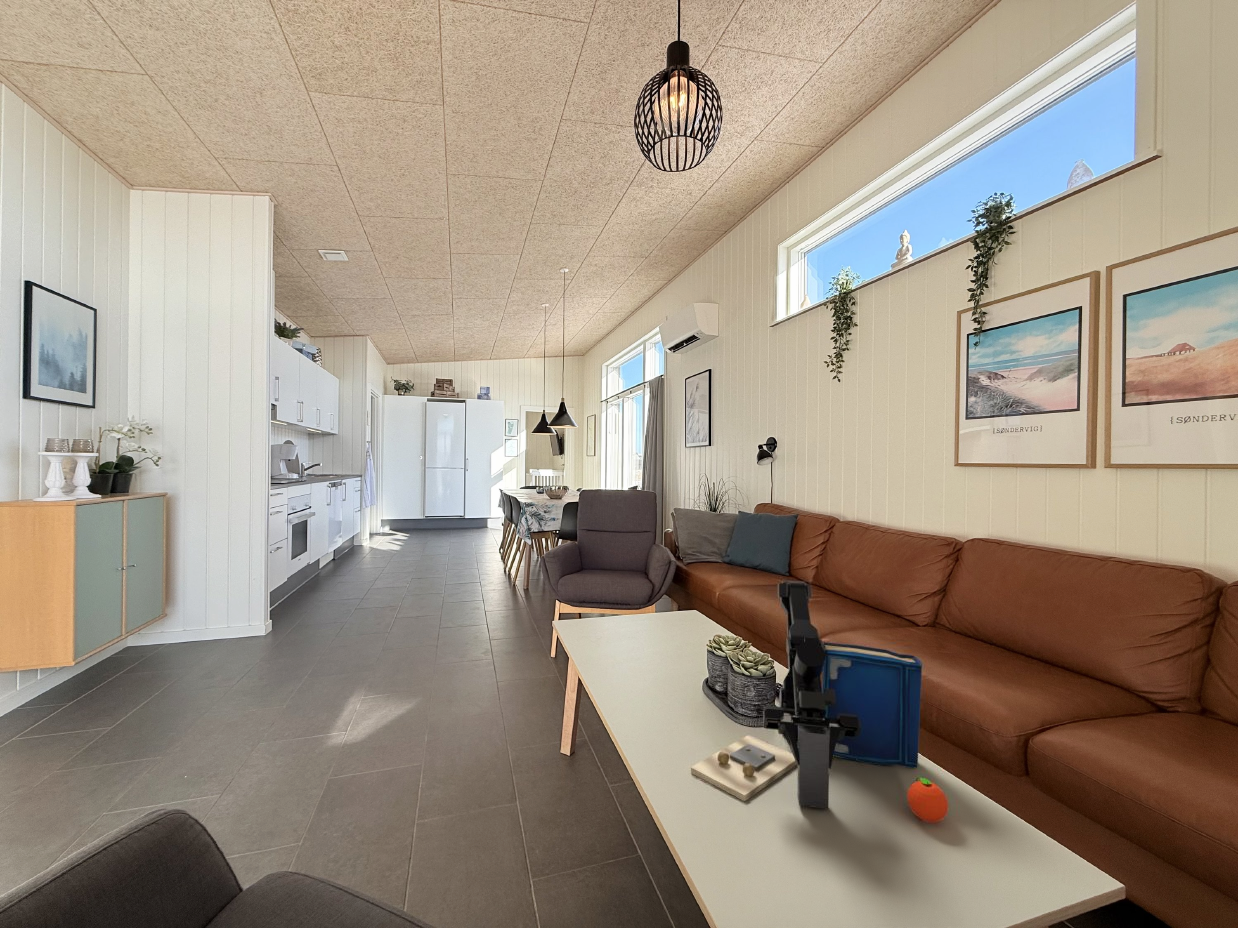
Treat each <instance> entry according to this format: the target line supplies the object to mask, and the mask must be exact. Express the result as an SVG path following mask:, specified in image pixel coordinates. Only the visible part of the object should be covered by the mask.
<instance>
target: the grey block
mask: <svg viewBox="0 0 1238 928" xmlns="http://www.w3.org/2000/svg"><path fill="white" fill-rule="evenodd" d="M797 745H798V751H799V762H800V764H799V765H797V802H798V806H803V807H804V806H805V807H810V808H811V807H812V808H816V809H817V808H818V809H819V808H820V809H827V810H828V809H829V807H830V806H829V802H830V800H829V799H830V798H829V793H830V789H829V788H830V782H829V781H830V778H829V777H830V769H829V733H828V730H827V728H825V727H815V726H805V725H798V741H797Z"/></svg>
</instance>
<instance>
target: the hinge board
mask: <svg viewBox="0 0 1238 928" xmlns="http://www.w3.org/2000/svg"><path fill="white" fill-rule="evenodd" d="M796 766H798V765H797V763H796V761H795V759H794V756H793V754H792V752H789V751H787V750H785V749H782V748H780V747H777V746H775V745H773V744H770V743H768V742H766V741H763V740H761V739H759V738H756V737H754V736H752V735H749V734H747V735H746V736H744V737H742V738H740V739H738V740H736V741H735V742H733V743H731V744H730V745H727V746H726V747H725V748H722V749H721V750H719V751H717V752H716V753H714V754H712V755H710V756H708V757H707V758H704V759H703V760H701V761H699V762H698V763H696V764H694V765H693V766H690V774H692V775H694V776H696V777H698V778H700V779H701V780H704V781H706V782H707V783H710V784H711V785H713V786H715V787H717V788H719V789H721V790H722V791H725V792H727V793H729V794H730V795H733V796H734V797H736V798H738V799H739V800H741V801H743V802H746V801H747V800H748V799H750V798H752V797H753V796H754V795H756V794H757V793H759V792H760V791H762V790H763V789H764V788H766V787H767V786H769V785H770V784H771V783H773V782H774V781H776V780H777V779H778V778H780V777H781V776H783V775H784V774H785V773H787V772H788V771H790V770H792V769H793V768H794V767H796Z"/></svg>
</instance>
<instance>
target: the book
mask: <svg viewBox="0 0 1238 928" xmlns="http://www.w3.org/2000/svg"><path fill="white" fill-rule="evenodd" d="M823 644H824V645H825V647H826V649H827V655H826V657H825V662H824V666H823V670H822V673H821V675H822V677H821V678H822V679H821V688H822V693H824V689H834V691H835V701H836V705H835V706H826V715H825V714H824V717H825V718H835V719H837V716H838V713H847V714H856V715H857V716H858V717H859V718H860V722H861V730H860V732H859V734H858V737H855V738H851V737H843V740H837V743H836V746H835V751H834V756H833V757H839V758H842V759H846V760H850V761H855V762H860V761H861V763H866V762H867V764H873V765H878V764H879V765H880V766H884V765H886V766H896V765H898V766H900V767H904V768H907V769H908V768H909V769H917V767H918V763H919V743H920V723H921V722H920V720H921V718H920V717H921V698H922V697H921V695H922V676H923V675H922V674H923V673H922V672H923V671H922V670H923V663H922V661H921V660H920V659H919V658H918V657H917V656H914V655H911V654H903V653H902V654H901V653H897V652H894V651H891V650H888V649H885V648H884V649H883V648H878V647H872V646H871V647H870V646H865V645H864V646H863V645H858V644H857V645H856V644H849V643H837V642H836V643H835V642H823ZM827 730H828V733H829V729H828V728H827ZM879 765H878V766H879Z"/></svg>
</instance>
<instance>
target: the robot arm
mask: <svg viewBox="0 0 1238 928" xmlns="http://www.w3.org/2000/svg"><path fill="white" fill-rule="evenodd" d="M812 591H813V590H812V585H811V584H808V583H806V581H801V580H799V581H797V580H782V581H781V583H778V584H777V598H779V600H780V601H779V604H780V607H781V608H782V610H783V612H784V613H785V615H786V634H787V635H786V640H785V643H786V646H785V648H786V649H785V650H786V654H787V664H788V666H787V667H788V672H787V674H786V676H785V677H784V679H783V680H782V687H780V689H779V696H778V698H779V699H778V702H779V704H778V705H779V706H771V705H766V706H765V707H764V708H763V715H762V717H763V718H762V721H763V723H762V724H763V725H762V727H763V728H764V729H766V730H773V731H777V732H778V734H779V735H782V736H783V737H784V739H785V741H786V742H787V745H788V747H789V748H790V751H791V753H792V754H793V756H794V759H795V761H796V763H797V765H796V766H798V765H799V764H800V762H799V751H798V725H805V726H815V727H825V728H828V729H829V770H831V769H832V764H833V760H834V757H835V756H834V751H835V746H836V743H837V740H843V737H851V738H855V737H858V734H859V732H860V730H861V722H860V718H859V717H858V716H857V715H856V714H847V713H838V716H837V719H835V718H825V717H824V714H825V715H826V706H835V705H836V701H835V691H834V689H824V693H822V679H821V678H822V677H821V675H822V672H823V666H824V662H825V657H826V655H827V649H826V647H825V645H824V642H823V640H822V638H820V635H819V632H818V629H817V627H815V626H814V624H812V622H811V616H810V608H809V607H810V606H809V603H810V602H809V600H812V599H813V597H812V595H813V593H812Z"/></svg>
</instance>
